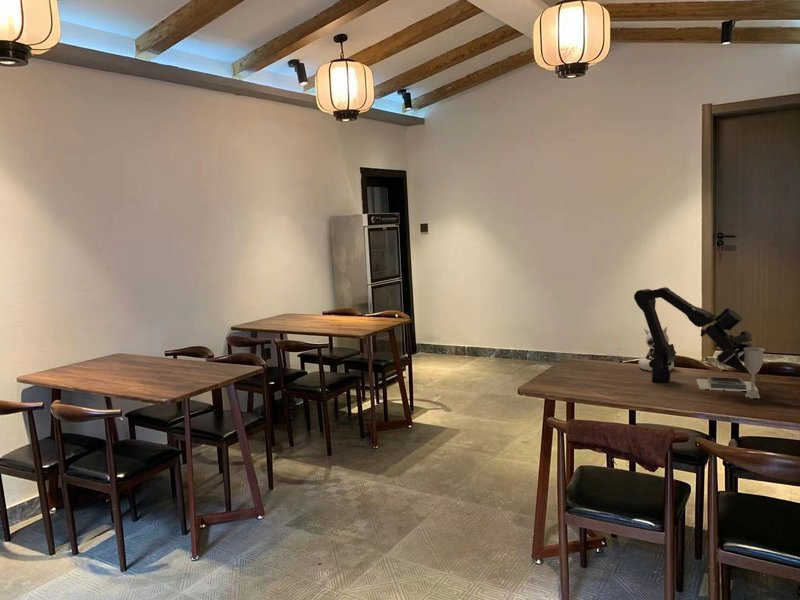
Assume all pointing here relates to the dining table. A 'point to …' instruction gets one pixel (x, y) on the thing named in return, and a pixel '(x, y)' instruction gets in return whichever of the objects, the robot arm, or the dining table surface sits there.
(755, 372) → the chalice
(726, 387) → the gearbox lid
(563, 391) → the dining table surface
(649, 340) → the decorative figurine
